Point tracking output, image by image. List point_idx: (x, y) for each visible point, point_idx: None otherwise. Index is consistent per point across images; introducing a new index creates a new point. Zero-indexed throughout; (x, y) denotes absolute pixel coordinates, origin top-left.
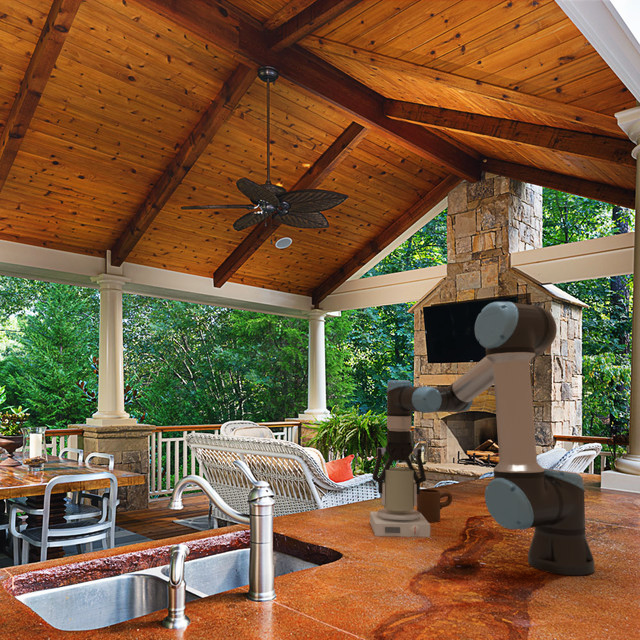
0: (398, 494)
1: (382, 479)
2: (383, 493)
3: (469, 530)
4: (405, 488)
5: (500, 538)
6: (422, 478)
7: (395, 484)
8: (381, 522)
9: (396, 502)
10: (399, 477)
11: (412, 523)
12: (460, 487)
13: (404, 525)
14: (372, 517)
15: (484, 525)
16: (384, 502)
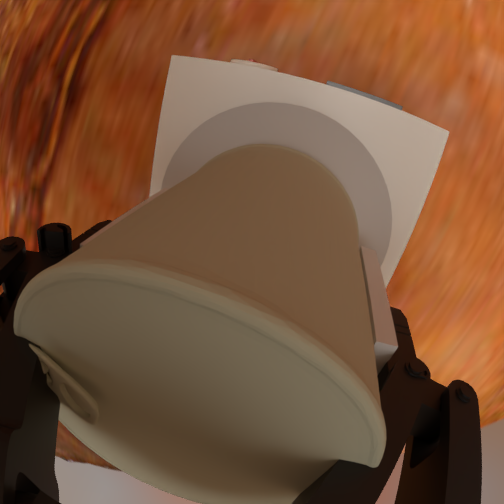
0: (295, 180)
1: (402, 378)
2: (380, 291)
3: (45, 149)
4: (210, 181)
5: (14, 58)
6: (11, 255)
7: (316, 232)
8: (411, 142)
9: (313, 175)
10: (251, 246)
11: (252, 82)
12: (57, 445)
13: (302, 79)
14: (398, 260)
15: (9, 202)
16: (365, 256)
